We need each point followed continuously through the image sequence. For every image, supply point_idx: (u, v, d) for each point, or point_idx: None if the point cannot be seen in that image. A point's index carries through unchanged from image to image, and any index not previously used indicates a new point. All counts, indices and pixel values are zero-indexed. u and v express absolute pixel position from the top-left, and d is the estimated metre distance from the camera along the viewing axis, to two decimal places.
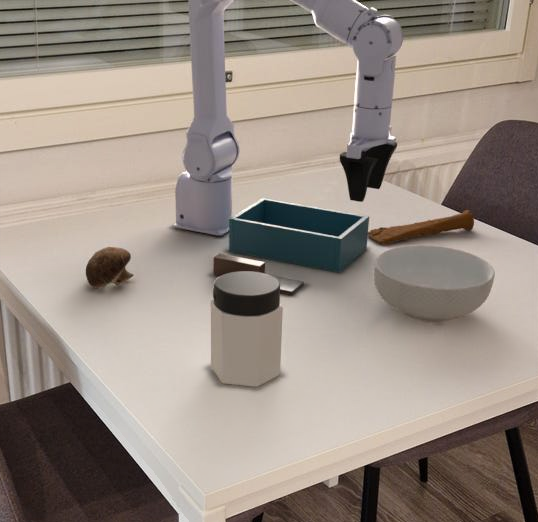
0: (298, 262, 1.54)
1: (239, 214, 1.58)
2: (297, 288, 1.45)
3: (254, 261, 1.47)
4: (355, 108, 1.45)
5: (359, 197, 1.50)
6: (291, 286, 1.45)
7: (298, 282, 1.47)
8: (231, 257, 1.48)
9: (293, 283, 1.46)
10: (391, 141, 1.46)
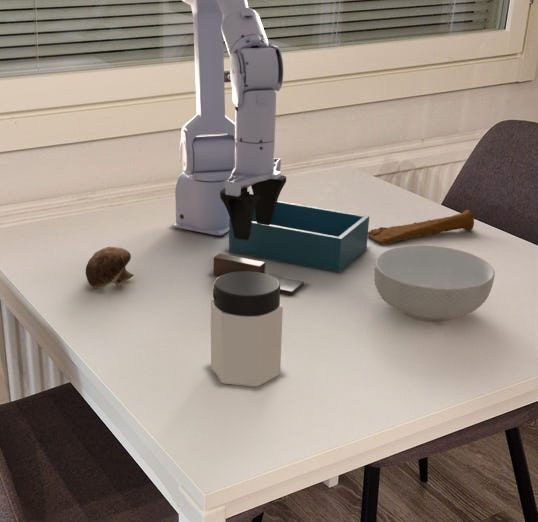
0: (298, 262, 1.54)
1: None
2: (297, 288, 1.45)
3: (254, 261, 1.47)
4: (235, 142, 1.37)
5: (244, 236, 1.41)
6: (291, 286, 1.45)
7: (298, 282, 1.47)
8: (231, 257, 1.48)
9: (293, 283, 1.46)
10: (275, 177, 1.38)
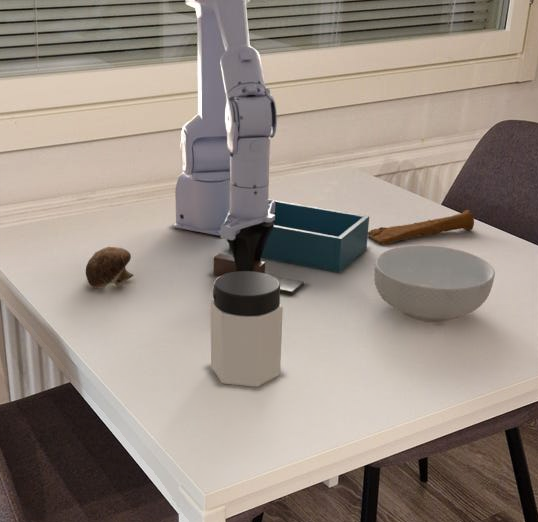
0: (298, 262, 1.54)
1: None
2: (297, 288, 1.45)
3: (254, 261, 1.47)
4: (230, 186, 1.40)
5: None
6: (291, 286, 1.45)
7: (298, 282, 1.47)
8: (231, 257, 1.48)
9: (293, 283, 1.46)
10: (269, 220, 1.41)
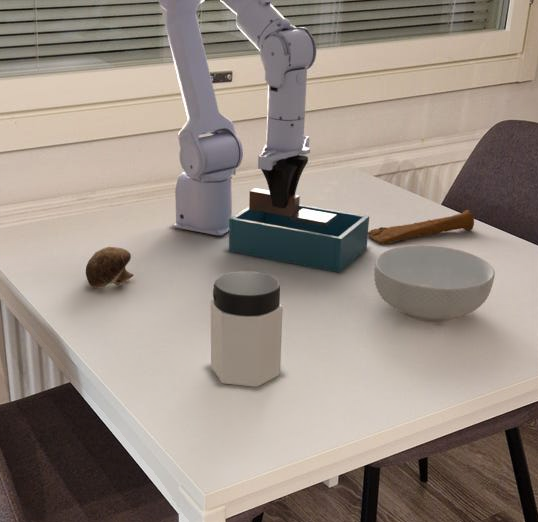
0: (298, 262, 1.54)
1: (239, 214, 1.58)
2: (330, 220, 1.51)
3: None
4: (268, 119, 1.45)
5: (281, 204, 1.52)
6: (325, 218, 1.51)
7: (331, 215, 1.52)
8: (266, 191, 1.54)
9: (326, 216, 1.52)
10: (304, 152, 1.47)
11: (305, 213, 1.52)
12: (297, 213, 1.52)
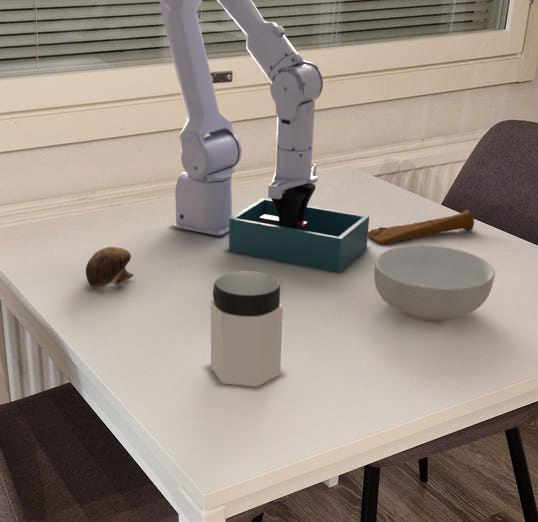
0: (298, 262, 1.54)
1: (239, 214, 1.58)
2: None
3: (297, 220, 1.58)
4: (277, 150, 1.51)
5: None
6: None
7: None
8: (275, 217, 1.59)
9: None
10: (312, 181, 1.52)
11: None
12: None
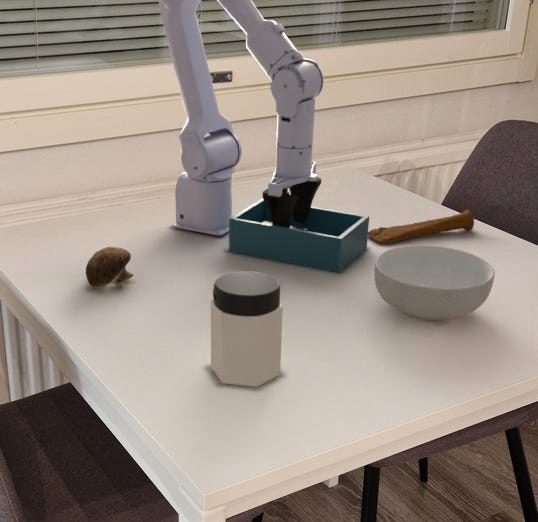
0: (298, 262, 1.54)
1: (239, 214, 1.58)
2: None
3: (296, 227, 1.59)
4: (277, 147, 1.51)
5: None
6: None
7: None
8: None
9: None
10: (312, 179, 1.52)
11: None
12: None
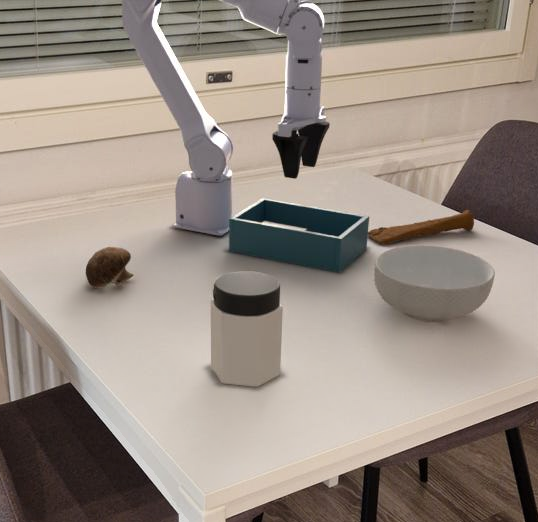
0: (298, 262, 1.54)
1: (239, 214, 1.58)
2: None
3: (296, 227, 1.59)
4: (286, 89, 1.54)
5: (293, 174, 1.58)
6: None
7: None
8: (275, 224, 1.60)
9: None
10: (321, 120, 1.55)
11: None
12: None
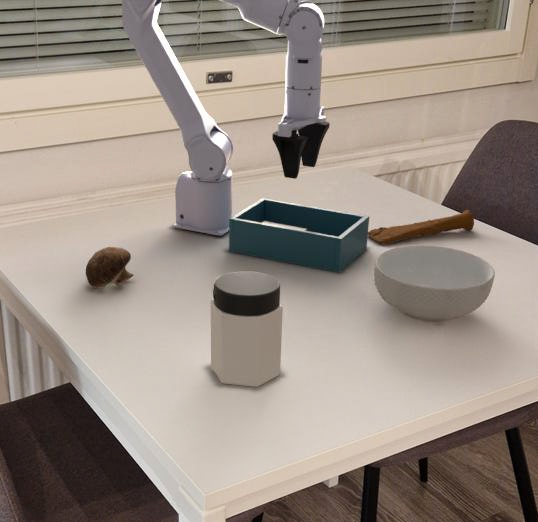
0: (298, 262, 1.54)
1: (239, 214, 1.58)
2: None
3: (296, 227, 1.59)
4: (286, 89, 1.54)
5: (293, 174, 1.58)
6: None
7: None
8: (275, 224, 1.60)
9: None
10: (321, 120, 1.55)
11: None
12: None
